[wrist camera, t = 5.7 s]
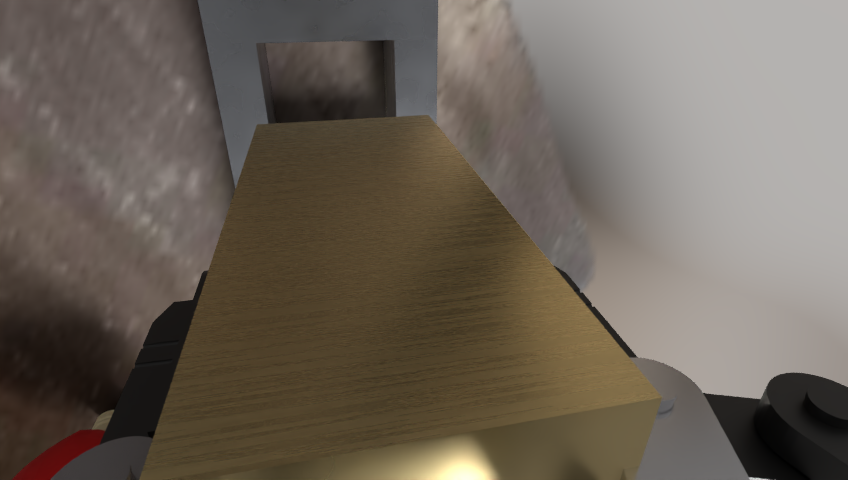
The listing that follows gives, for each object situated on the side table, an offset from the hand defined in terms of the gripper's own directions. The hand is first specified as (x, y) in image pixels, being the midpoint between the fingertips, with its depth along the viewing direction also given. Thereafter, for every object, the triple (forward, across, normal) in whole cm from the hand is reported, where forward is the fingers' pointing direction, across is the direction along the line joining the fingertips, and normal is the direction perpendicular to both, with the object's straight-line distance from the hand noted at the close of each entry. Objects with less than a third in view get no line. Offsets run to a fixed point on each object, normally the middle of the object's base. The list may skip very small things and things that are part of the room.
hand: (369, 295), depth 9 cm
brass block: (+5, 0, 0) cm, 5 cm away
